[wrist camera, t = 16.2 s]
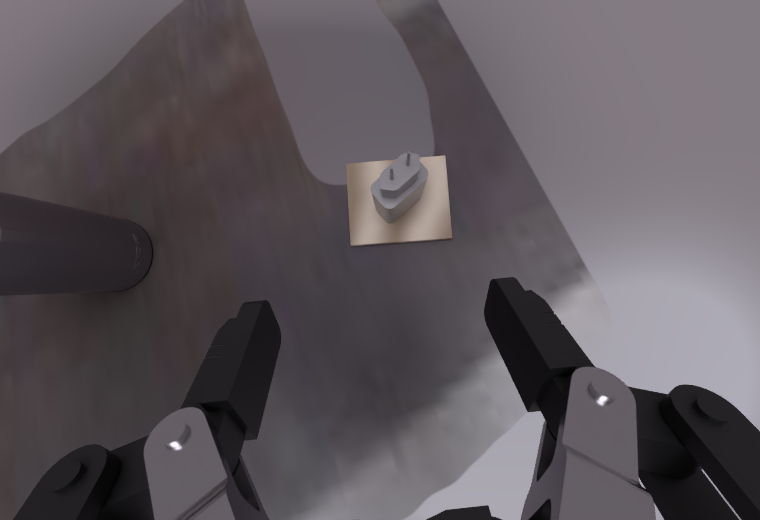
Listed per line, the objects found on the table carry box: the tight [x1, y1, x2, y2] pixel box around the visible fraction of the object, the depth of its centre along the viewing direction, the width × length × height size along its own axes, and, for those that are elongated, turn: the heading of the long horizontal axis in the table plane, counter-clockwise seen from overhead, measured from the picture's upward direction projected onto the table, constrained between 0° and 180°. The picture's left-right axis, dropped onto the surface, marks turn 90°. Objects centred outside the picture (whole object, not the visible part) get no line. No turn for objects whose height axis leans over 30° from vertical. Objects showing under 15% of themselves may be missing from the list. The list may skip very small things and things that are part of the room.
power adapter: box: [371, 151, 428, 224], centre depth 29 cm, size 3×5×12 cm, turn 131°
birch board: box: [346, 156, 452, 246], centre depth 35 cm, size 12×10×1 cm
